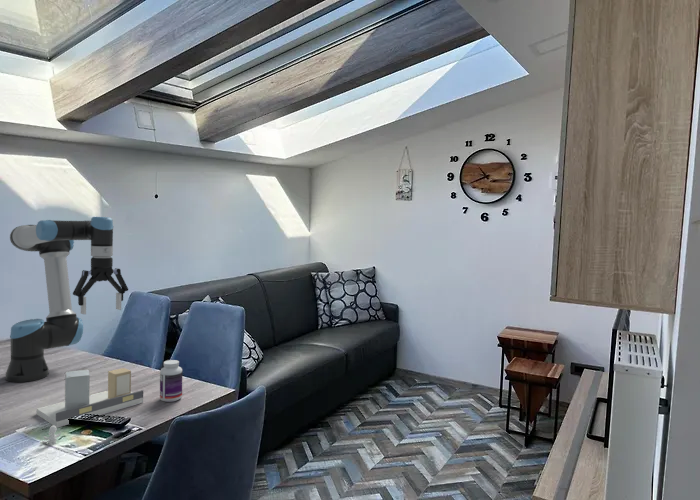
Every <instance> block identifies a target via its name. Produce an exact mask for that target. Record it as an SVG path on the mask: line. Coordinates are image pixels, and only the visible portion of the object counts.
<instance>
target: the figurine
mask: <svg viewBox="0 0 700 500" xmlns="http://www.w3.org/2000/svg"><path fill="white" fill-rule="evenodd" d="M57 429H58V428H57V427H56V426H54V425H51V426H50V427H49V431H48V434H47V435H49V436H45V435H43V438H44V439H45V440H46V441H45V440H43V441H41V443H42V444H48V445H50V446H54V445H56V444H57V438H59V437H60V435H61V434H62V432H59V433H57V434H56V432H57V431H58V430H57Z"/></svg>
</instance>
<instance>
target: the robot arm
mask: <svg viewBox="0 0 700 500" xmlns="http://www.w3.org/2000/svg"><path fill="white" fill-rule="evenodd" d="M113 222H114V220H113V218H112V217H110V216H109V217H108V216H107V217H106V216H92V217H91V220H54V219H53V220H51V219H46V220H44V219H43V220H39V221H38V222H37V223H36V224H25V225H19V226H17V227H15V228H13V229H12V230H11V231H10V234H9V240H10V243H11V245H13V246H14V247H15V248H17V249H19V250H21V251H23V252H24V251H25V252H38V253H39V257H40V258H41V259H43V263H44V271H45V272H44V273H45V274H44V275H45V283H46V292H47V301H48V310H49V313H48V315H47V316H46V317H45V321H44V319H42V318H29V319H24V320H22V321H21V320H20V321H19V322H16V323H14V324H12V326H11V327H10V335H9V339H10V361H9V363H8V367H7V368H6V372H5V380H6V381H7V382H10V383H27V382H28V383H29V382H34V381H37V380H38V381H39V380H41V379H43V378H46V377H48V376H47V375H49V367H48V364H47V361H46V359H45V352H44V351H45V350H50V349H56V348H61V347H62V348H63V347H68V346H72V345H77V344H78V343H80V341H81V339H82V337H83V334H84V323H83V320H82V318H80V317H79V316H77V313H76V312H75V311H74V310H73V307H72V299H71V289H70V280H69V272H68V262H67V261H68V259H67V258H68V257H69V255H70V251H72V250H73V248H74V243H75V241H90V256H91V257H90V270H85V269H83V270H81V276H80V278H79V279H78V282H77V284H76V286H75V288H74V290H73V292H72V295H73V296H74V297H75V296H76V297H77V298H78V299H77V300H78V301H77V303H78V304H77V305H78V306H80V314H82V315H87V297H86V295H87V293H88V292H89V290H91V288H92V287H93V286H94V285H95V284H96V283H97V282H103V281H104V282H109V283H110V284H111V286H112V287H113V288H114V289H115V290H116V291H117V292H115V310H117V311H118V310H119V311H121V310H122V302H123V301H124V294H125V293H126V292H128V291H129V288H128V286H127V284H126V281H125V279H124V278H123V276H122V273H121V268H118V267H116V268H113V263H114V262H113V261H114V260H113V257H112V256H113V255H114V254H113V251H114V248H113V244H114V243H113V241H114V223H113ZM113 274H114V275H115V277H116V280H117V281H116V280H115V278H114V277H113V276H112V275H113ZM89 276H91V277H90V278H89V279H88V277H89ZM87 279H88V281H87ZM85 283H86V284H85Z"/></svg>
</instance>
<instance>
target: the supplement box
mask: <svg viewBox="0 0 700 500" xmlns="http://www.w3.org/2000/svg"><path fill="white" fill-rule="evenodd" d="M64 374H65V378H64V380H65V381H64V382H65V383H64V402H65V411H66V410H70V409H74V408H77V407H81V406H85V405H88V404H89V395H90V378H91V377H90V376H91V375H90V370H89V369H79V370H73V371H72V370H71V371H66V372H65V373H64Z"/></svg>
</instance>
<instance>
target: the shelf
mask: <svg viewBox="0 0 700 500" xmlns="http://www.w3.org/2000/svg"><path fill="white" fill-rule="evenodd" d="M143 403H144V390H143V389H141V390H137V391H131V393H129V394H126V395H122V396H118V397H114V398H111V399H109V398H108V390H104V391H101V392H96V393H93V394H89V404H88V405H85V406H81V407H77V408H74V409H70V410H66V411H65V401H61V402H57V403H54V404H53V403H52V404H49V405H46V406H41V407H37V408H36V415H37V416H38V417H40V418H41V419H42V420H45V421H46V422H48V423H49V424H50V425H51V426H53V425H54V426H56V428H57V429H58V428H60V427H64V426H67V425H70V424H69V420H68V419H69V418H71V417H73V416H78V415H83V414H98V415H99V416H102V415H104V414H105V415H106V414H109V413H112V412H115V411H118V410H123V409H125V408H129V407H133V406H135V405H139V404H143Z"/></svg>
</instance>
